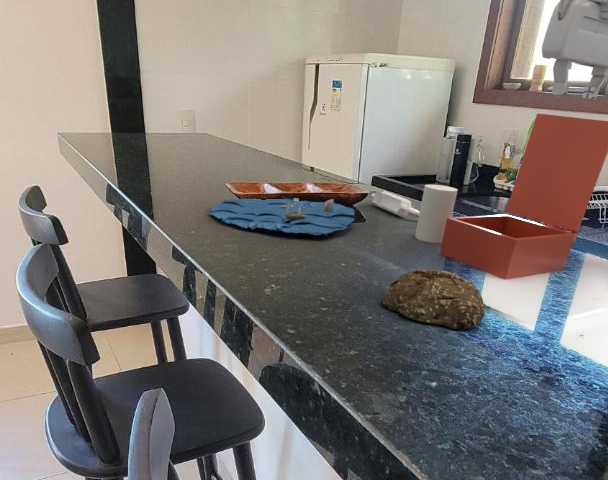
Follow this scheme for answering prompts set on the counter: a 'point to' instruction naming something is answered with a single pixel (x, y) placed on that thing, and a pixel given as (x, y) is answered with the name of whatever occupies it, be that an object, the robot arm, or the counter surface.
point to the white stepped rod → (394, 203)
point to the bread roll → (436, 299)
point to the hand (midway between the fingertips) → (574, 97)
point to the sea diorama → (285, 215)
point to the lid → (559, 170)
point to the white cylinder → (435, 212)
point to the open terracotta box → (506, 245)
